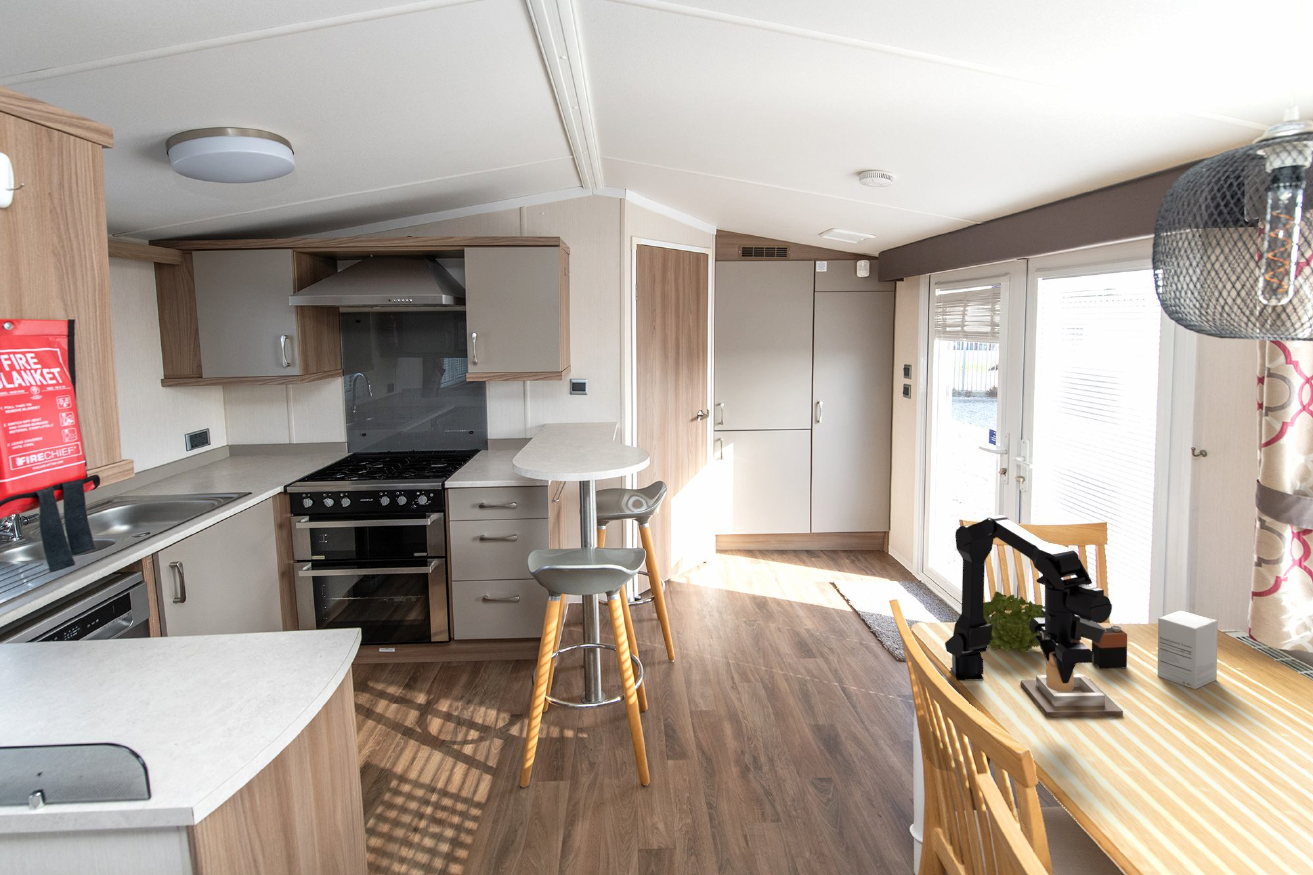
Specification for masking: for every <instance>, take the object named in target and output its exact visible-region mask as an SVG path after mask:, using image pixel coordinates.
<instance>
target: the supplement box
mask: <svg viewBox="0 0 1313 875" xmlns="http://www.w3.org/2000/svg"><path fill="white" fill-rule="evenodd" d="M1157 620H1158V621H1157V624H1158V625H1157V677H1159V678H1162V679H1165V680H1168V681H1170V682H1173V683H1176V684H1179V685H1181V686H1184V685H1185V687H1187V686H1188V688H1190V687H1191V688H1190V689H1193V690H1197V689H1198V688H1201V687H1204V686H1206V685H1207V684H1211V683H1213V682H1214V681H1217V679H1218V678H1217V676H1218V620H1217V619H1214V618H1213V619H1212V618H1209V617H1205V616H1201V615H1198V614H1195V613H1192V612H1187V611H1184V610H1177V611H1175V612H1171V613H1169V614H1166V615H1164V616H1160V617H1158V618H1157Z"/></svg>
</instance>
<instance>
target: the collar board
mask: <svg viewBox="0 0 1313 875" xmlns="http://www.w3.org/2000/svg"><path fill="white" fill-rule="evenodd" d="M1020 685H1021V687H1022V688H1023V690H1024V691H1025V693H1027V694H1028V696H1029V697H1030V698H1031V699H1032V700H1033V702H1034V703H1035V704H1036V705H1037V707H1038V708H1039V709H1040V710H1041V712H1042V713H1043V714H1044V715H1045V717H1046V718H1065V717H1066V718H1073V717H1074V718H1079V717H1080V718H1081V717H1085V718H1087V717H1089V718H1090V717H1124V710H1122V708H1120V706H1119V705H1118V704H1116V703H1115V701H1113V700H1112V699H1111V697H1109V696H1108V695H1107V694H1106V692H1104V691H1103V690H1102V689H1101V688H1100V687H1099V686H1098V685H1097V684H1096V683H1095V682H1094V681H1093V680H1092V679H1091V678H1088V677H1086V675H1085V674H1083V673H1082V674H1078V673H1076V674H1074V688H1073V690H1072V691H1069V692H1059V691H1055V690H1052V689H1050V688H1048V687H1047V685H1046V674H1037V675H1035V679H1021V680H1020Z"/></svg>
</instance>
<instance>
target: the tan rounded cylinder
mask: <svg viewBox="0 0 1313 875" xmlns="http://www.w3.org/2000/svg"><path fill="white" fill-rule="evenodd" d="M1052 653H1055V652H1051V653H1050V654H1049V660H1048V661H1047V660H1046V666H1045V667H1046V668H1045V669H1046V670H1045V672H1046V674H1045V675H1046V685H1047V687H1048V688H1050V689H1052V690H1055V691H1059V692H1069V691H1072V690H1073V688H1074V675H1075V674H1074V673H1075V672H1074V671H1075V669H1074V670H1073V672H1072V675H1071V677H1070V680H1069V682H1068V683H1063V682H1062V680H1061V678H1060V675H1059V673H1058V670H1057V667H1056V665H1055V662H1054V659H1053V656H1052Z"/></svg>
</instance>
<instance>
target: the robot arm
mask: <svg viewBox="0 0 1313 875" xmlns="http://www.w3.org/2000/svg"><path fill="white" fill-rule="evenodd" d="M954 536H955V548H956V550H957V552H958V553H959V555H960V556H961V558H962V580H961V581H962V582H961V584H962V586H961V613H960V615H959V617H958V619H956V622H955V623H954V628H953V634H952V636H951V637H950V638H949V639H948V640H947V641H945V643H944V646H945V651H946V652H947V653H949V654H951V663H952V664H951V667H950V668H949V670H950V669H951V670H950V671H952V672H951V673H952V675H953V677H954V678H955V679H956V681H966V680H965V679H983V680H984V678H985V677H984V676H983V675H984V658H983V656H982V653H983V652H987V650H988V648H989V646H988V645H989V644H990V641H991V640H993V639H992V625H991V624H988V623H987V621H986V620H985V618H984V616H983V606H984V602H985V601H984V600H985V572H986V571H985V570H986V569H985V568H986V567H985V566H986V563H985V562H986V560H987V558H988V557H989V555H990V553H991V552H992V550H993V546H994V539H999V540H1000V541H1001V542H1004V543H1005V544H1006V545H1008V546H1009V547H1011V548H1013V549H1015V550H1016V551H1018V552H1019V553H1020V554H1022V555H1024V556H1025V557H1027V558H1028V559H1030V560H1031V561H1032V562H1031V563H1032V564H1033V567H1034V569H1035V570H1037V572H1039V573H1040V574H1041V576H1039V578H1037V579H1036V583H1038V584H1039V585H1044V606H1045V609H1041V613H1042V614H1043V615H1044V616H1045V618H1033V619H1032V620H1031V621H1030V622H1029V630H1030V631H1031V632H1032V633H1033V634H1037V632H1038V631H1039V636H1035V639H1036V640H1037V642H1038V644H1039V647H1040V650H1041V652H1042V653H1043V656H1044V658H1045V660H1046V662H1047V661H1048V660H1049V654H1050V653H1051V652H1055V653H1052V656H1053V659H1054V662H1055V665H1056V667H1057V670H1058V673H1059V675H1060V678H1061V680H1062V682H1063V683H1068V682H1069V680H1070V677H1071V675H1072V672H1073V670H1074V671H1075V667H1076V666H1077V664H1094V663H1093V662H1094V653H1093V652H1092V649H1090V648H1089V647H1087V646H1086V644H1085V643H1084V642H1081V640H1082V638H1083V639H1086V640H1087V639H1088V640H1090V641H1092V640H1093V641H1095V642H1096V643H1100V642H1101V639H1102V637H1103V635H1104V632H1105V629H1104V628H1105V627H1103V626H1101V624H1103V623H1104V622H1106V621H1107V620H1109V617H1110V616H1111V613H1112V611H1113V604H1112V602H1111V600H1110V598H1109V597H1108V596H1107V595H1105V590H1104V589H1103V588H1100V587H1094V586H1091V585H1092V584H1093V581H1092V579H1091V577H1090V576H1089V575H1090V574H1089V573H1088V572H1087V570H1086V568H1085V567H1084V564H1083V563H1082V561H1081V559H1080V557H1079V554H1078V553H1077V552H1076V551H1075V550H1074V549H1072V548H1068V547H1067V546H1065V545H1062V544H1058V543H1057V544H1055V543H1049V542H1047V541H1045V540H1043V539H1041V538H1039V537H1038V536H1036V535H1035V534H1033V533H1031V532H1029V531H1028V530H1026V529H1024V528H1023V527H1021V526H1019V525H1018V524H1016V523H1015V522H1013V521H1011V520H1010V519H1009V518H1008V517H1007V516H1005V515H996V516H991V517H987V518H986V519H984V520H981V521H979V522H976V523H971V524H966V525H961V526H960V527H958V528H956V530H955V534H954ZM1072 576H1076V577H1072ZM1068 577H1071V578H1068ZM1062 578H1065V579H1062ZM1072 639H1075V640H1080V642H1078V643H1073V642H1072Z"/></svg>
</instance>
